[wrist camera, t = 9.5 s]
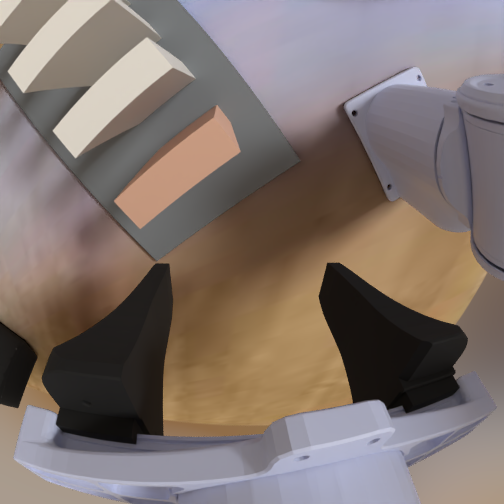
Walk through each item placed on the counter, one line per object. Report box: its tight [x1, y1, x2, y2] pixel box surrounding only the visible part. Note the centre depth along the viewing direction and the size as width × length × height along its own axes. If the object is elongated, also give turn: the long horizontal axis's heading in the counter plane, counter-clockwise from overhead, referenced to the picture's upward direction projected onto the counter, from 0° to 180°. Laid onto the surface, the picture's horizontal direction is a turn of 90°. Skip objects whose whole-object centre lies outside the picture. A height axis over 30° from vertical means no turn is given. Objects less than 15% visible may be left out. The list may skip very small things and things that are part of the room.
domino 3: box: [53, 37, 196, 158], centre depth 13 cm, size 2×5×10 cm, turn 125°
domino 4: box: [114, 105, 241, 229], centre depth 14 cm, size 2×5×10 cm, turn 125°
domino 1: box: [0, 0, 130, 45], centre depth 9 cm, size 2×5×10 cm, turn 124°
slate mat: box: [0, 0, 300, 261], centre depth 16 cm, size 24×14×1 cm, turn 35°
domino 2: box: [8, 0, 162, 93], centre depth 11 cm, size 2×5×10 cm, turn 124°
